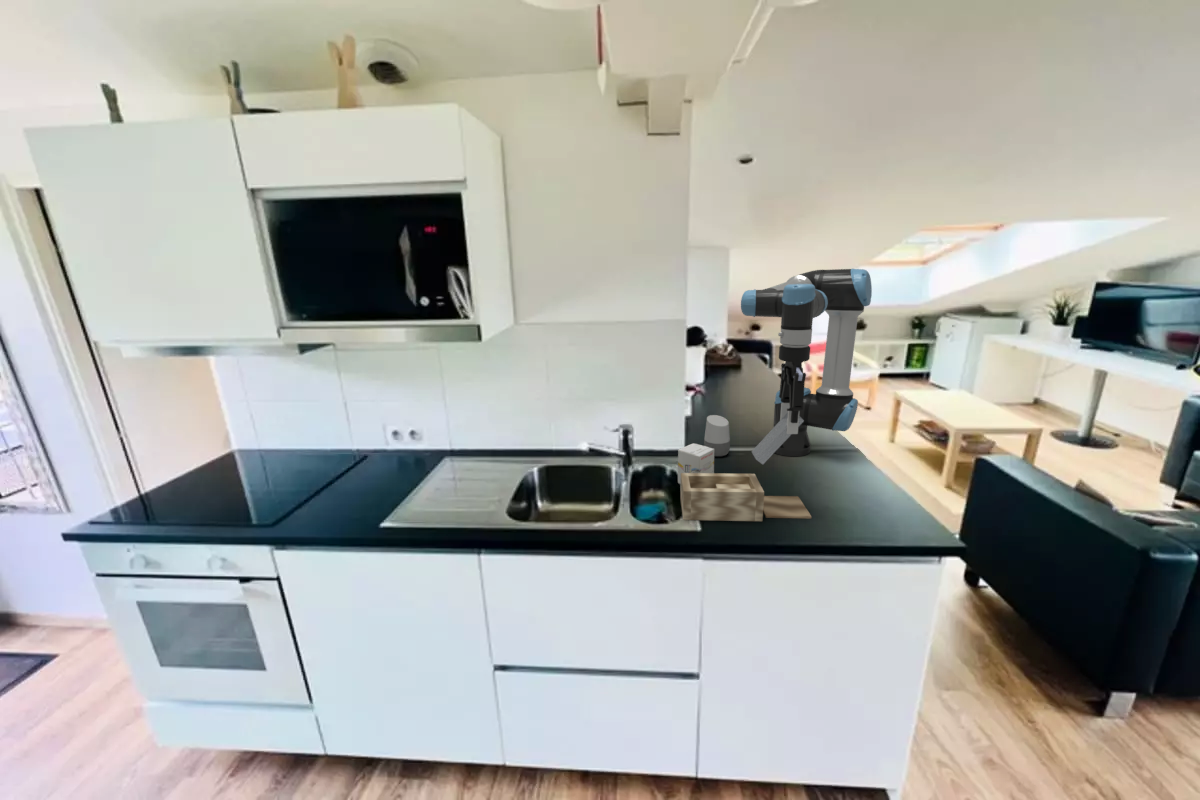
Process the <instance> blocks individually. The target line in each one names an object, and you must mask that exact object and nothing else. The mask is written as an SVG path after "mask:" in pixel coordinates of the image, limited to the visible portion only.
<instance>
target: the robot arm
mask: <svg viewBox="0 0 1200 800" xmlns="http://www.w3.org/2000/svg"><path fill="white" fill-rule="evenodd" d="M872 290H873V289H872V279H871V275H870V273H869V272H868V271H867V269H863V268H862V269H861V268H844V269H843V268H841V269H839V268H838V269H815V270H810V271H807V272H803V273H800V274H797V275H793V276H791V277H789V278H788V280H787V281H786V282H783V283H779V284H776V285H773V286H771V287H768V288H764V289H755V288H754V289H748V290H745V291H744V292H743V294H742V296H741V299H740V311H741V313H742V314H743V315H744V316H746V317H753V318H757V317H760V318H761V317H763V318H764V317H766V318H781V319H780V322H781V323H780V332H778V333H777V334H778V337H780V338H779V343H780V344H781V345H780V346H779V348H778V359H779V360H780V361H783V362H784V363H781V366H780V367H781V373H780V374H781V375H780V384H779V390H778V391H777V392H776V393H775V401H774V404H773V405H774V408H773V409H774V410H773V427H772V429H773V428H774V427H775V426H776V425H777V423H778V422H779V421H780V420H781V419H782V418H783V417H784V416H785V415H786V414H787V413H788V418H787V432H786V433H787V434H791V435H790V436H789V438H788V439H787V440H786V441H785V442H784V443H783V444H782V445H781V446H780V447H779V448H778V449H777V450H776V451H775V452H774V453H773V454H776V455H780V456H785V457H804V456H806V455H809V454H810V453H811V449H812V448H811V446H812V444H811V440H810V438H809V433H808V427H813V428H817V429H818V428H819V429H825V430H829V431H830V430H831V431H833V432H834V431H836V432H838V431H839V432H846V431H848V430H849V429H850V428H851V427H852V424H853V422H854V419H855V417H856V414H857V410H858V405H859V404H858V402H859V401H858V399H856V398H854V392H853V390H852V389H851V388H850V382H851V375H852V368H853V360H854V359H853V358H854V351H855V342H856V335H857V326H858V317H859V316H861V314H863V313H864V311H865V307H867V306H870V304H871V302H872V294H873V292H872ZM825 312H826V314H827V315H828V323H827V324H828V326H827V333H826V340H825V341H826V343H825V351H824V352H825V353H824V359H823V369H822V378H821V385H820V386H819V387H818V388H817V389H816V390H815V393H811V389H810V388H809V387H805V384H806V377H807V373H806V372H804V369H803V367H802V363H804V362H808V361H809V360H810V357H811V356H810V355H811V346H810V344H812V338H813V337H812V336H813V335H812V334H813V320H814V319H816V318H818V317H819V316H821V315H822V314H823V313H825ZM799 416H800V417H801V418H802V419H803V420H804V422H803V423H802V424H801V425H800V426H799V427H798V424H799Z"/></svg>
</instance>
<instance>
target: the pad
mask: <svg viewBox="0 0 1200 800" xmlns="http://www.w3.org/2000/svg"><path fill="white" fill-rule="evenodd" d="M763 516H765V519H766V518H767V519H768V518H769V519H772V518H773V519H812V515H811V513H810V512H809V510H808V509H807V508H806V506H805V504H804V502H803V501H802V500H801V498H800V496H797V495H791V496H788V495H764V504H763Z"/></svg>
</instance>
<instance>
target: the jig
mask: <svg viewBox="0 0 1200 800" xmlns="http://www.w3.org/2000/svg"><path fill="white" fill-rule="evenodd" d="M758 479H759V478H757V475H756V474H755V473H727V472H726V473H725V472H724V473H718V472H717V473H715V472H714V473H681V484H680V506H681V514H682V520H683V521H722V522H724V521H726V522H727V521H728V522H729V521H730V522H731V521H732V522H763V518H764V512H763V504H764V496H765V491H764V489H763V487H762V486H761V483H760V480H758Z"/></svg>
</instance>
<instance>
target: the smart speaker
mask: <svg viewBox="0 0 1200 800" xmlns="http://www.w3.org/2000/svg"><path fill="white" fill-rule="evenodd" d="M730 435H731V434H730V423H729V421H728V419H726V417H723V416H722V415H717V414H710V415H708V416H707V417H706V423H705V432H704V439H703V446H706V447H709V448H713V449H714V458H721V457H725V456H727V454H729V452H730V449H731V436H730Z"/></svg>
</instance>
